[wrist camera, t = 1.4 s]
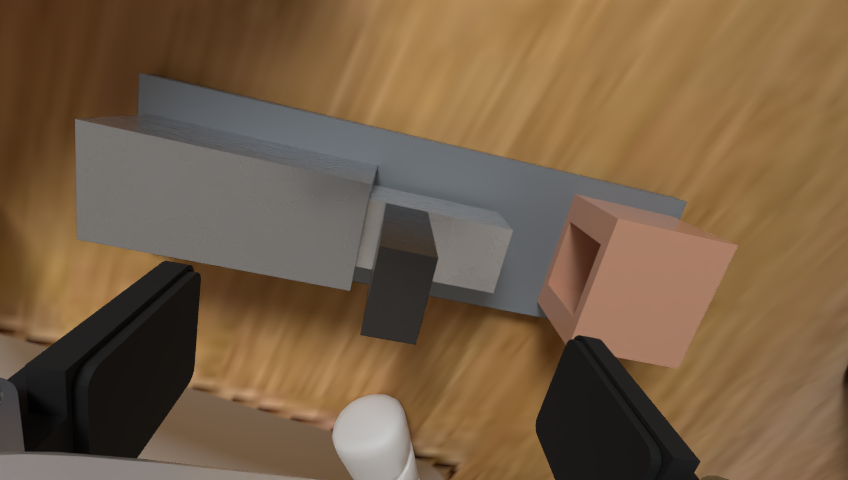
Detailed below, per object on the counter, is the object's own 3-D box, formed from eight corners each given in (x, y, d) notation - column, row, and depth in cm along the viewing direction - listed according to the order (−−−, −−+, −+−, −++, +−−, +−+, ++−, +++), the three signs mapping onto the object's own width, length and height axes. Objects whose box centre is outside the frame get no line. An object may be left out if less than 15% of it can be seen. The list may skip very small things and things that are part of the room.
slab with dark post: (194, 209, 23) (62, 282, 14) (199, 146, 22) (58, 181, 13) (481, 267, 25) (526, 364, 16) (498, 211, 24) (556, 281, 15)
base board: (146, 233, 25) (134, 239, 24) (152, 74, 22) (139, 73, 21) (620, 324, 29) (629, 334, 28) (674, 197, 26) (686, 202, 25)
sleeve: (144, 209, 24) (77, 239, 19) (148, 113, 22) (75, 118, 17) (360, 252, 25) (349, 290, 20) (377, 165, 23) (371, 184, 18)
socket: (537, 301, 27) (567, 348, 22) (574, 193, 24) (618, 218, 20) (628, 319, 27) (677, 368, 22) (672, 216, 25) (738, 245, 20)
